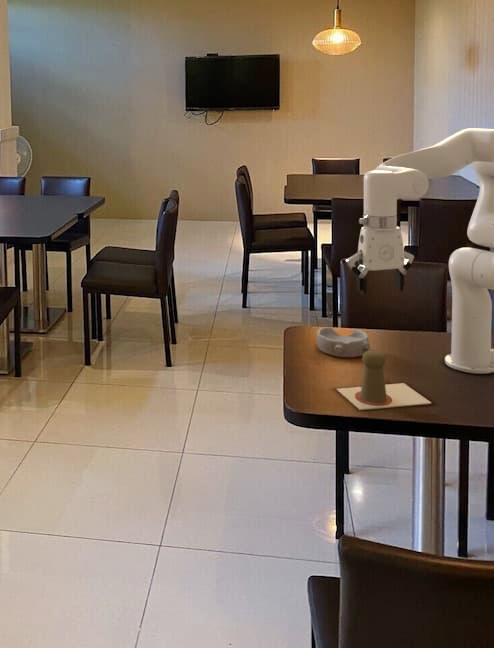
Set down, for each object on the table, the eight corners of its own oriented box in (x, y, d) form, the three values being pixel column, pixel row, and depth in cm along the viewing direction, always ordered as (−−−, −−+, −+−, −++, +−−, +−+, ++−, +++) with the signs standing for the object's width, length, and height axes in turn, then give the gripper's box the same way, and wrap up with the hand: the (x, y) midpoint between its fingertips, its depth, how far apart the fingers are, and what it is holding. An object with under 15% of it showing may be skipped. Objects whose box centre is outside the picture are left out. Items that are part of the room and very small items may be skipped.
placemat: (403, 384, 184) (403, 382, 184) (431, 403, 172) (431, 401, 172) (336, 389, 181) (336, 387, 181) (360, 410, 169) (360, 408, 169)
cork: (388, 403, 172) (389, 357, 171) (361, 401, 173) (362, 356, 172) (384, 393, 178) (385, 348, 177) (358, 391, 179) (359, 347, 178)
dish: (312, 342, 215) (312, 325, 215) (360, 342, 215) (360, 325, 215) (324, 360, 201) (324, 342, 201) (375, 360, 200) (375, 342, 200)
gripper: (354, 227, 172) (354, 298, 173) (421, 222, 175) (421, 292, 176) (339, 221, 179) (340, 290, 181) (404, 217, 182) (404, 284, 184)
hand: (380, 291), depth 178 cm, fingers open, 9 cm apart
